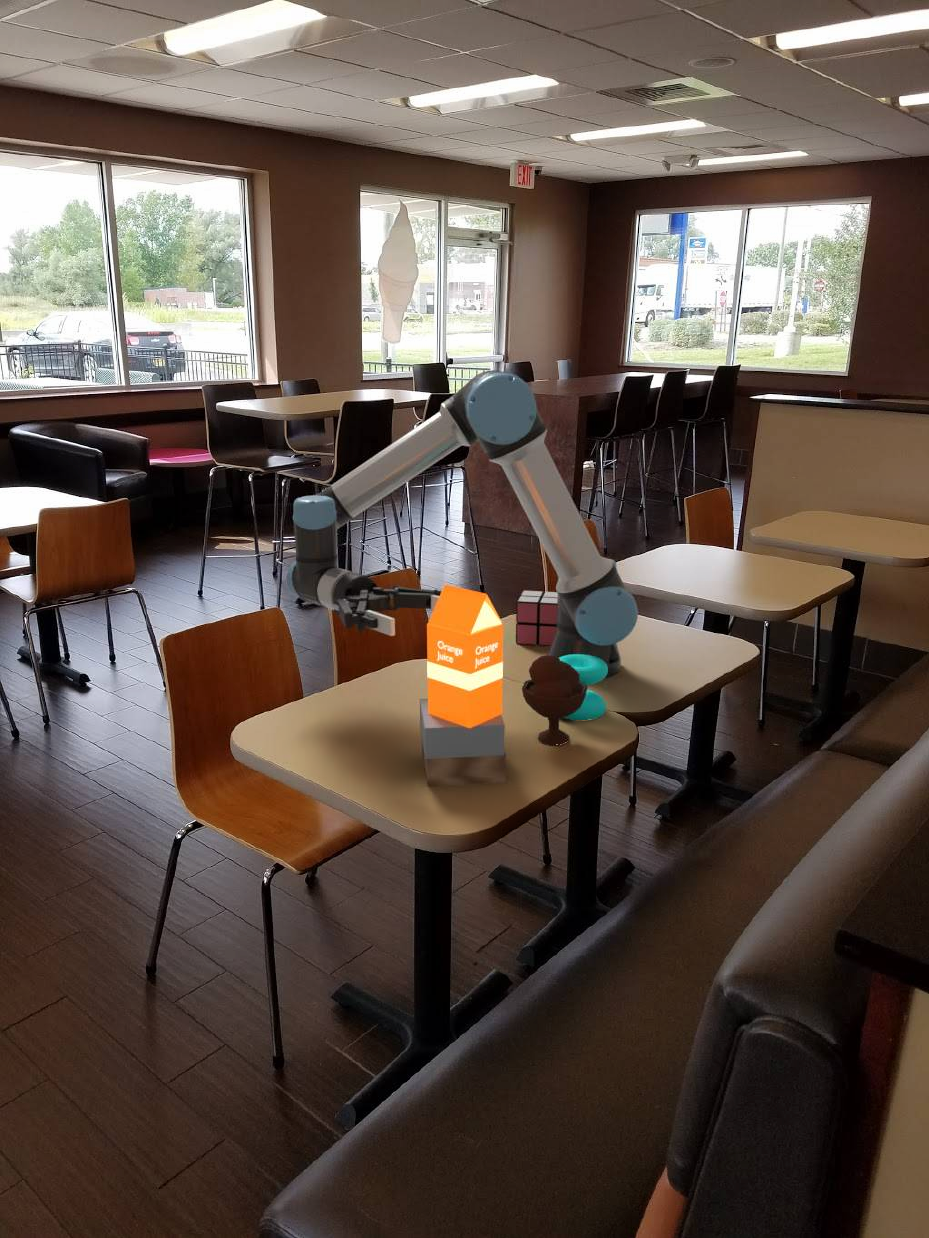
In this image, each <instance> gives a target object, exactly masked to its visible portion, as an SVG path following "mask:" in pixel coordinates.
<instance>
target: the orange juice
mask: <svg viewBox="0 0 929 1238" xmlns="http://www.w3.org/2000/svg"><path fill="white" fill-rule="evenodd" d="M441 591H442V592H441V594H440V596H439V599H438V601H437V604H436V606H435V608H434V611H433V612H432V613H431V616H430V618H429V620H428V622H427V624H426V637H427V638H426V639H427V640H426V641H427V642H426V645H427V646H426V649H427V651H426V652H427V653H426V655H427V661H426V665H427V666H426V670H427V671H426V673H427V699H428V713H429V714H431V715H434V716H437V717H440V718H443V719H445V720H448V721H451V722H454V723H456V724H459V725H462V726H465V727H468V728H472V727H474V726H476V725H478V724H481V723H483V722H485V721H487V720H490V719H492V718H494V717H496V716H499V715H501V716H502V714H503V678H504V675H503V670H504V660H503V659H504V658H503V656H504V655H503V653H504V652H503V651H504V650H503V647H504V644H503V643H504V642H503V641H504V627H503V626H504V624H503V622H502V619H501V618H500V616H499V614H498V612H497V610H496V608H495V607H494V604H492V601H491V599H490V598H489V596H488V594H487V593H483V592H479V591H475V590H470V589H466V588H463V587H458V586H453V585H449V584H443V588H442V590H441Z"/></svg>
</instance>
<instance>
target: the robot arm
mask: <svg viewBox="0 0 929 1238" xmlns="http://www.w3.org/2000/svg"><path fill="white" fill-rule="evenodd" d="M547 428H548V427H546V424H545V422H544V420H543V418H542V417H541V414H540V412H539V409H538V408H537V401H536V398H535V394H534V392H533V390H532V389H531V387H530V386H529V385H528V383H527V382H526V381H524V379H522V378H521V377H519V376H518V375H516V374H514V373H511V372H509V371H503V370H502V371H501V370H495V369H494V370H487V371H483V372H480V373H479V374H477V375H475V376H474V377H472V378H470V380H469V381H468V382H467V383H465V384H464V386H462V387H461V388H460V389H459V390H457V392H455V393H454V394H452V396H450V397H449V398H447V399H446V400H445V401H443V402H442V403H440V409H439V411H438V412H437V413H435V414H434V415H432V416H431V417H429V418H428V419H426V420H425V421H423V422H422V423H420V424H419V425H417V427H415V428H413V429H411V430H410V431H409V432H408V433H406V434H405V435H403V436H402V437H400V438H398V439H397V440H396V441H394V442H393V443H391V444H390V445H388V446H387V447H385V448H384V449H383V450H381V451H379V452H378V453H377V454H375V455H373V456H372V457H370V458H369V459H367V460H366V461H365V462H363V463H362V464H360V465H359V466H358V467H356V468H355V469H353V470H351V471H350V472H348V473H347V474H345V475H344V476H343V477H341V478H340V479H338V480H337V481H336V482H333V484H331V485H330V486H328V487H326V488H325V489H324V490H322V491H320V492H319V493H317V494H314V495H305V496H301V497H297V498H296V499H294V502H293V514H292V520H293V528H294V529H293V530H294V542H295V543H294V544H295V561H294V562H293V563H291V565H290V566H289V568H288V570H287V573H286V578H285V579H286V586H287V588H288V590H289V592H291V594H293V595H294V596H295V597H298V598H300V599H301V600H302V601H304V602H306V603H310V604H315V605H317V606H320V607H324V608H325V609H330V610H332V611H333V613H334V614H335V615H336V616H339V618H340V620H341V622H342V624H343V625H344V627H345V629H352V628H354V626H356V631H357V632H364V631H366V630H365V627H366V628H367V629H370V630H373V631H376V632H379V633H382V634H385V635H387V636H389V637H394V636H396V619H395V618H394V617H391V616H388V615H387V614H382V613H381V612H382V611H398V609H400V608H401V609H419V610H420V609H423V610H424V609H428V610H430V611H431V612H432V613H433V611H434V608H435V606H436V604H437V601H438V599H439V596H440V594H441V592H442V590H438V589H422V588H413V587H405V586H400V585H396V584H395V585H393V586H392V588H389V589H388V588H384V587H378V585H377V584H376V583H375V581H374V580H373V579H372V578H371V577H369V576H366V575H363V574H359V573H357V572H354V571H351V570H347V569H343V568H340V567H339V565H338V564H339V563H338V559H339V558H338V533H337V532H338V529H340V528H341V527H343V526H345V524H348V523H349V522H350V521H351V520H352V519H354V518H355V517H357V516H358V515H360V514H361V513H363V512H364V511H366V510H367V509H368V508H371V507H372V506H373V505H374V504H376V503H378V502H379V501H380V500H383V498H385V497H387V496H388V495H389V494H391V493H392V492H394V491H396V490H397V489H399V488H401V486H403V485H405V484H406V483H407V482H409V481H411V480H412V479H413V478H415V477H417V476H418V475H419V474H421V473H423V472H424V471H425V470H427V469H429V468H430V467H431V466H433V465H434V464H436V463H437V462H439V461H440V460H442V459H444V458H445V457H446V456H448V455H450V454H452V452H454V451H455V450H457V449H458V448H460V447H461V446H464V447H470V446H472V445H474V444H475V443H477V442H479V444H480V446H481V448H482V449H483V451H484V454H485V455H486V457H487V459H488V461H489V462H491V463H495V464H498V465H500V466H501V468H502V469H503V472H504V473H505V475H506V477H507V480H508V481H509V483H510V485H511V487H512V489H513V491H514V492H515V493H514V494H516V497H517V499H518V500H519V503H520V504H521V505H520V506H522V509H523V510H524V512H525V514H526V516H527V519H528V520H529V522H530V524H531V526H532V528H533V530H534V532H535V534H536V535H537V537H538V539H539V541H540V543H541V545H542V548H543V549H544V552H545V553H546V554H547V556H548V558H549V561H550V562H551V564H552V566H553V569H554V570H555V572H556V574H557V576H556V577H557V583H556V586H555V590H556V592H558V597H557V630H556V633H555V636H554V639H553V641H552V644H551V646H549V647H550V648H549V650H548V653H547V655H549V656H555V657H557V658H560V657H562V656H566V655H572V654H583V655H590V656H594V657H597V658H600V659H601V660H603V661H604V662H605V663H606V665H607V667H608V673H607V675H606V677H605V678H607V677H611V676H614V675H616V674H618V673H619V672H620V671H621V664H622V661H621V660H622V658H621V654H620V652H619V651H620V650H619V647H618V645H617V644H618V643H620V642H622V641H623V640H625V639H626V638H627V637H628V636H630V634H631V633H632V632H633V630H634V629H635V627H636V624H637V621H638V618H639V617H638V616H639V610H638V605H637V601H636V600H635V597H634V595H633V594H631V593H630V591H629V590H627V588H626V586H625V584H624V582H623V580H622V578H621V576H620V574H619V572H618V569H617V563H616V561H615V560H614V559H611V558H607V557H603V556H601V554H600V552H599V550H598V549H597V546H596V544H595V542H594V540H593V538H592V537H591V535H590V532H589V530H588V528H587V526H586V524H585V522H584V520H583V518H582V516H581V514H580V512H579V511H578V508H577V506H576V504H575V503H574V502H575V501H574V500H573V499H572V495H571V494H570V492H569V490H568V488H567V486H566V484H565V482H564V480H563V478H562V476H561V474H560V472H559V470H558V468H557V466H556V463H555V462H554V459H553V457H552V456H551V454H550V451H549V450H548V447H547V446H546V444H545V439H546V437H547V433H548V429H547ZM391 599H392V602H393V603H392V605H391Z"/></svg>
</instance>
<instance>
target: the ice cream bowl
mask: <svg viewBox="0 0 929 1238" xmlns="http://www.w3.org/2000/svg"><path fill="white" fill-rule="evenodd" d="M528 673H529V678H530V679H528V680H524V681H525V682H524V683H523V685H522V687H521V690H522V691H521V692H522V696H523V698H524V701H525V703H526V704H527V705H528V706H529V707H530V708H531V709H532V710H534V712H536V713H537V714H538V715H539V716H542V717H543V718H547V719H548V729H545V730H543V731H541V732H539V734H538V737H537V739H538V740H539V741H538V740H537V741H538V742H540V741H541V742H542V743H545V744H544V745H546V744H549V745H548V746H550V745H556V744H558V745H557V746H561V745H560V744H563V743H565V742H567V741H569V742H570V739H569V738H570V735H569V734H568V733H566V731H563V730H561V729H560V720H561V719H564V717H567V716H569V715H571V714H573V713H574V712H576V711H577V710H578V709H579V708H580V707H581V705H582V703H583V701H584V698H585V696H586V692H587V690H588V687H589V685H585V684H584V683H582V682H581V681H579V673H578V672H577V671H576V670H575V669H574V668H573V667H572V666H571V665H569V664H568V663H566V662H563V661H560V659H559V658H557V657H555V656H549V655H548V654H547V655H542V656H539V657H538V658H536V659H535V660H533V661H532V662H531V665H530V666H529V669H528ZM541 742H540V743H541ZM542 743H541V744H542ZM563 745H564V744H563Z"/></svg>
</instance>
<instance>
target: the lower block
mask: <svg viewBox="0 0 929 1238" xmlns="http://www.w3.org/2000/svg"><path fill="white" fill-rule="evenodd" d="M421 755H422V762H423V767H424V773H425V780H426V786H427V787H441V786H445V787H446V786H461V785H462V786H463V785H464V786H465V785H477V784H478V785H479V784H481V785H482V784H483V785H484V784H501V783H506V771H507V770H506V766H507V763H506V761H507V760H506V755H507V754H506V752H505V750H504V755H498V756H477V757H456V758H435V759H425V753H424V747H423V741H422V740H421Z"/></svg>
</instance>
